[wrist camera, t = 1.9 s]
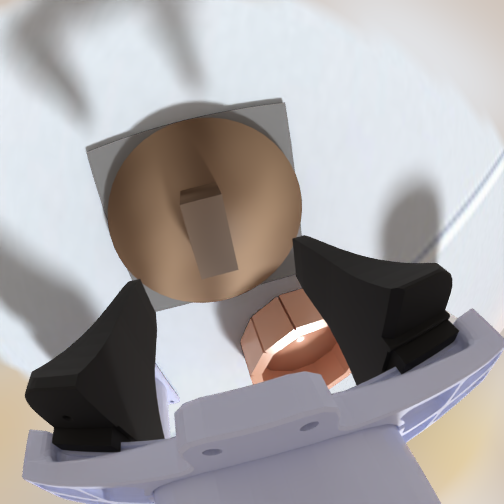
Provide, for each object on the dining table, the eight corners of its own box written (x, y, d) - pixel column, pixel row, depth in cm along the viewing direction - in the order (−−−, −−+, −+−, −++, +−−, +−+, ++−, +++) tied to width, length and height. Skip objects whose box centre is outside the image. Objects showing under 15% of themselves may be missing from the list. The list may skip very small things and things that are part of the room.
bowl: (252, 381, 30) (262, 412, 26) (230, 309, 24) (240, 345, 20) (344, 350, 31) (361, 375, 28) (351, 272, 26) (376, 299, 22)
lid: (148, 313, 22) (145, 346, 19) (86, 152, 15) (63, 161, 12) (304, 271, 24) (324, 298, 20) (284, 102, 17) (308, 99, 13)
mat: (148, 311, 22) (148, 313, 22) (87, 151, 15) (86, 152, 15) (303, 269, 24) (304, 271, 24) (283, 102, 17) (284, 102, 17)
